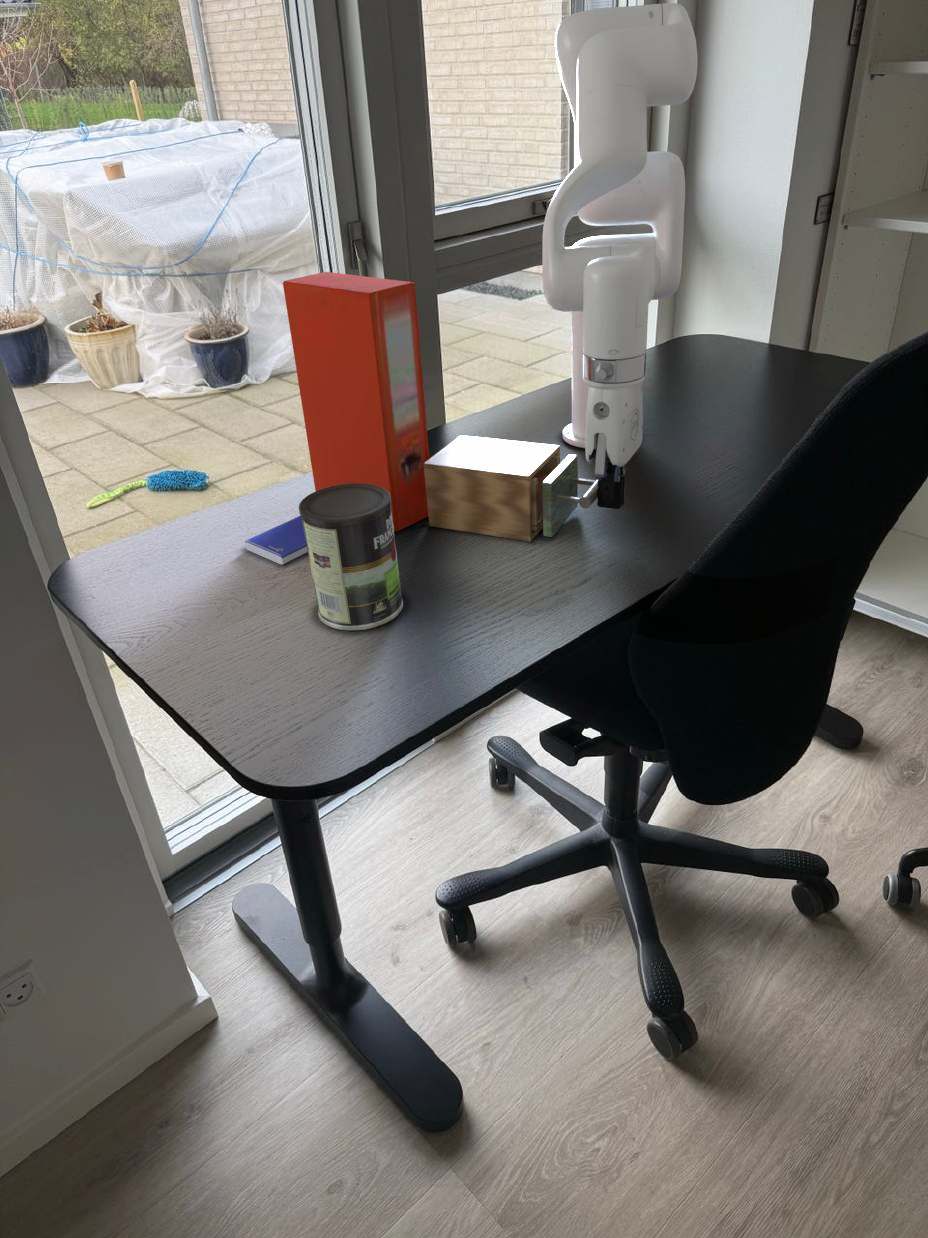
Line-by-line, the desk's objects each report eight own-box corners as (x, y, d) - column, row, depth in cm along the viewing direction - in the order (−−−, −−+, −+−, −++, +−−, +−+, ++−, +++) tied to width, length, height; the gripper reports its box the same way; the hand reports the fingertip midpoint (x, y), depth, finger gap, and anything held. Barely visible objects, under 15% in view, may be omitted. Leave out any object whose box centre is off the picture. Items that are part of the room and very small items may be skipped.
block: (517, 500, 124) (516, 469, 121) (547, 504, 122) (547, 473, 119) (504, 513, 120) (503, 482, 118) (535, 518, 118) (534, 486, 116)
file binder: (357, 486, 137) (327, 270, 120) (435, 512, 126) (414, 280, 110) (317, 503, 132) (280, 281, 115) (394, 532, 122) (366, 293, 105)
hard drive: (281, 555, 115) (351, 521, 122) (244, 539, 119) (313, 507, 127) (283, 565, 115) (352, 531, 123) (246, 549, 120) (315, 517, 128)
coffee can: (412, 588, 108) (400, 482, 101) (391, 633, 99) (377, 521, 92) (332, 585, 110) (315, 481, 102) (306, 629, 101) (285, 519, 94)
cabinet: (560, 507, 125) (560, 445, 120) (530, 541, 117) (528, 476, 112) (464, 494, 131) (460, 434, 126) (429, 526, 123) (423, 463, 118)
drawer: (610, 510, 121) (611, 458, 117) (586, 542, 114) (586, 487, 109) (485, 493, 129) (482, 444, 125) (454, 522, 121) (450, 470, 117)
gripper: (626, 387, 98) (621, 533, 108) (660, 352, 110) (653, 487, 119) (563, 383, 101) (564, 525, 111) (603, 348, 113) (601, 481, 122)
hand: (610, 505), depth 115 cm, fingers closed
